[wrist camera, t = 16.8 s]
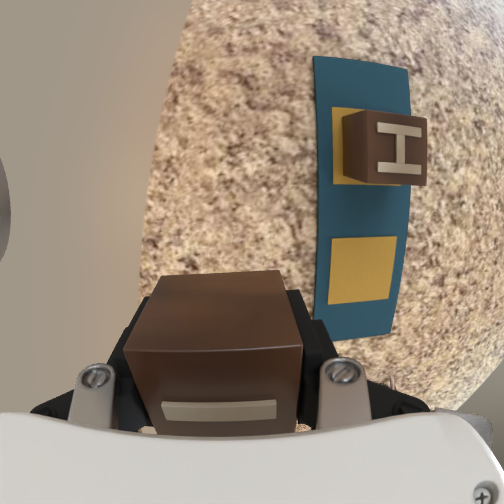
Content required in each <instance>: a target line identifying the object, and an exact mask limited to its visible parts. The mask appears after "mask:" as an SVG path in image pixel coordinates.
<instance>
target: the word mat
mask: <svg viewBox="0 0 504 504" xmlns="http://www.w3.org/2000/svg"><path fill="white" fill-rule="evenodd" d="M313 69H314V84H315V102H316V124H317V162H318V215H317V254H316V277H315V296H314V312H313V320H316V319H322V321H323V323H324V325H325V327H326V329H327V332H328V334H329V336H330V338H331V340H332V341H339V340H347V339H355V338H363V337H370V336H377V335H383V334H390V331H391V327H392V322H393V318H394V313H395V308H396V303H397V298H398V293H399V287H400V282H401V276H402V269H403V263H404V256H405V248H406V240H407V231H408V221H409V209H410V194H411V185H396V184H367V183H364V182H361V181H358V180H355V179H352V178H349V177H345V176H343V127H342V116H345V115H349V114H352V113H356V112H359V111H363V110H376V111H384V112H391V113H398V114H405V115H411V106H410V91H409V80H408V71H407V69H403V68H398V67H393V66H388V65H383V64H378V63H372V62H366V61H359V60H352V59H343V58H334V57H324V56H313Z"/></svg>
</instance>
